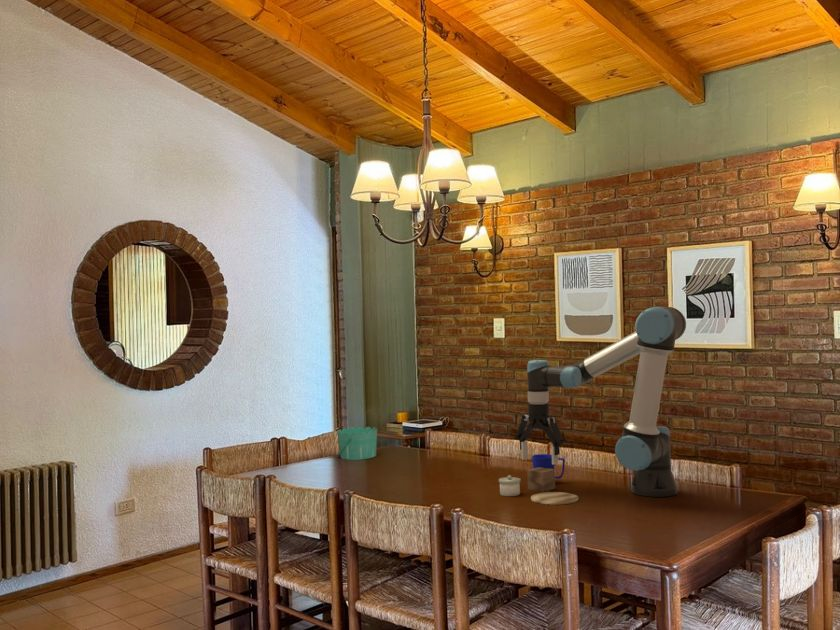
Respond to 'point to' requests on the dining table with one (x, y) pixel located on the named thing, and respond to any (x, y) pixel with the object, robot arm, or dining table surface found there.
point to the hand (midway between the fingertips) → (539, 461)
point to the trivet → (554, 498)
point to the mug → (545, 462)
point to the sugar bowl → (509, 486)
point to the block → (541, 479)
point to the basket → (357, 443)
